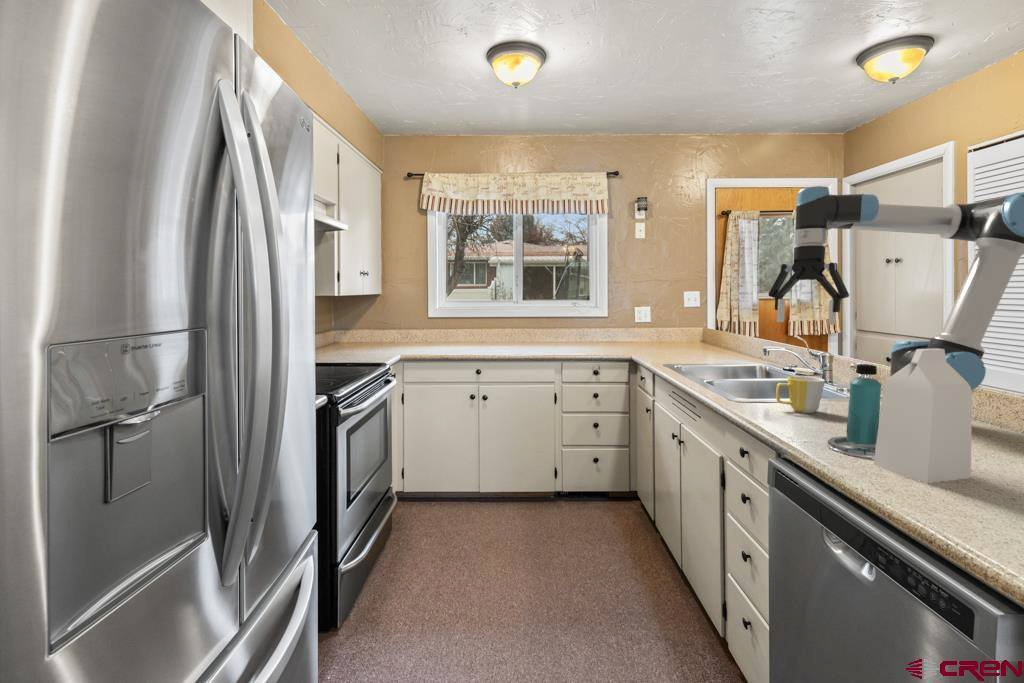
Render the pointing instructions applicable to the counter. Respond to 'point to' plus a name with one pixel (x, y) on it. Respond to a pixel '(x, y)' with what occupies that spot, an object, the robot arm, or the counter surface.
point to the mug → (803, 393)
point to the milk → (926, 421)
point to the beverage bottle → (864, 407)
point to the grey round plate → (851, 447)
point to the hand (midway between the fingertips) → (805, 323)
